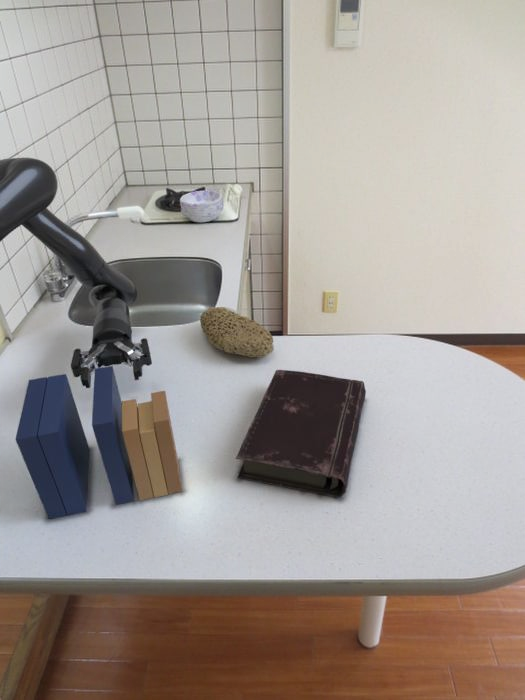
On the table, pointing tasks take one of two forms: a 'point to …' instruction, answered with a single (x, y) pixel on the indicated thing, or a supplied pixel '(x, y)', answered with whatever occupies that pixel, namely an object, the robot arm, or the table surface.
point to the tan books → (151, 446)
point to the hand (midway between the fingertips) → (111, 380)
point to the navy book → (111, 434)
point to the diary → (304, 433)
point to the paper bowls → (202, 205)
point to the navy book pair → (54, 446)
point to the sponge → (235, 333)
